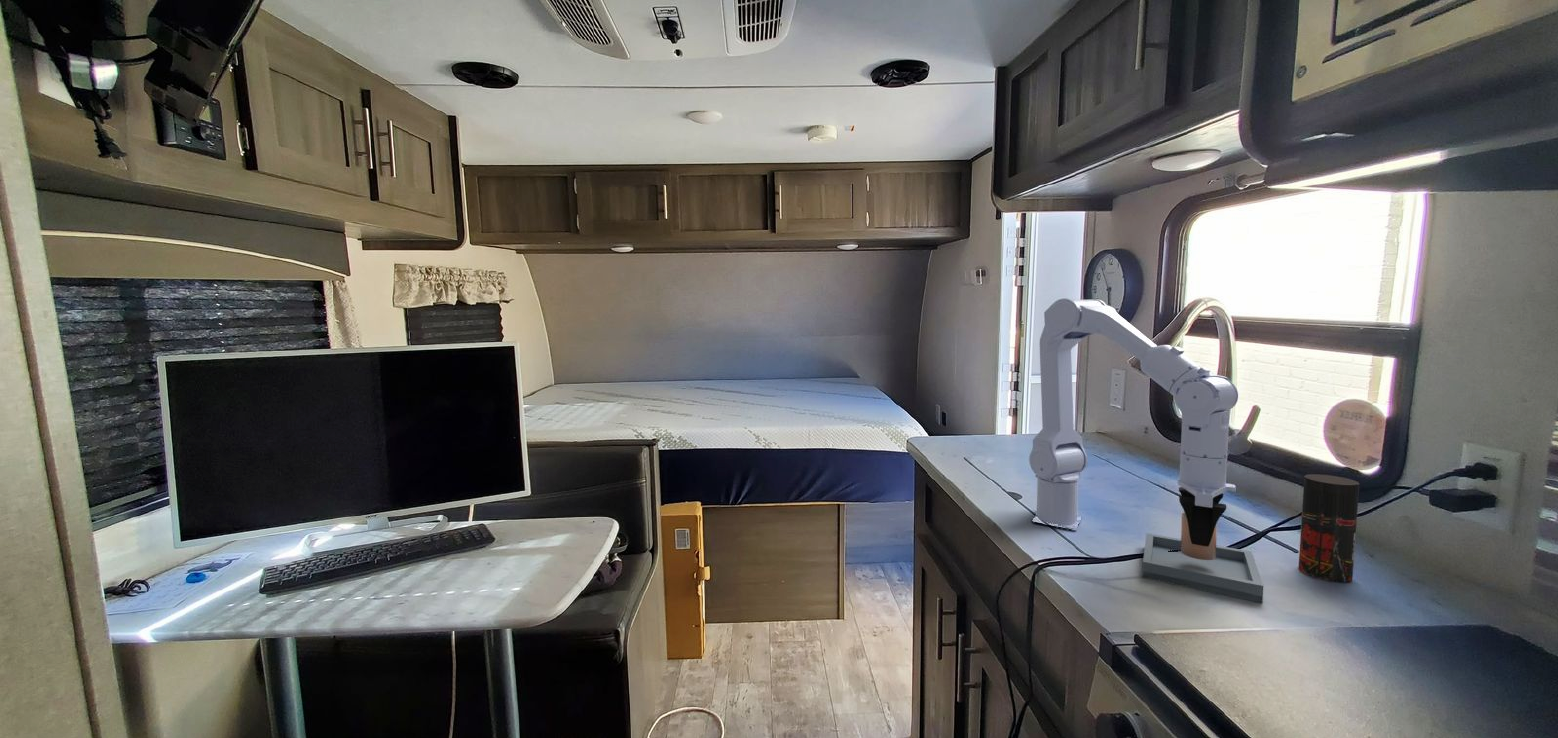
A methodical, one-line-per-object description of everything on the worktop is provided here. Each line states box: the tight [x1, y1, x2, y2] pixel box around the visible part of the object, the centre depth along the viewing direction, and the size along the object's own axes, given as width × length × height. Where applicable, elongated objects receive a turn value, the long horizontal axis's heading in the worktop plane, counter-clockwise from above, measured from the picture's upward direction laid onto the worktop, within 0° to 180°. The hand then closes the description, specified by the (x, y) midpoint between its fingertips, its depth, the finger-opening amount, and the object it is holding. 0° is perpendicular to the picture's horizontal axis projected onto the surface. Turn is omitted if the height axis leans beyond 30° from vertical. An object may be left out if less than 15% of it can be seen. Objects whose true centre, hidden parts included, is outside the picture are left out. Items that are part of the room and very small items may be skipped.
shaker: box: [1180, 509, 1218, 560], centre depth 86 cm, size 4×4×8 cm
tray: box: [1142, 532, 1264, 604], centre depth 86 cm, size 14×14×2 cm
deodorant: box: [1297, 473, 1360, 584], centre depth 84 cm, size 6×6×15 cm
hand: (1199, 539), depth 86 cm, fingers closed on shaker, 4 cm apart
